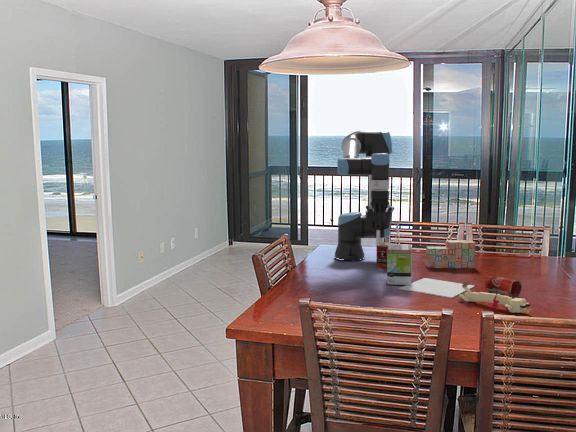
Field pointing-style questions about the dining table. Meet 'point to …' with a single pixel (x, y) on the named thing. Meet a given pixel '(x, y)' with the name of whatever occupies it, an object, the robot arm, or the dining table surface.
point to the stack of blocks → (451, 255)
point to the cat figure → (495, 300)
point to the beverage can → (503, 286)
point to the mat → (436, 287)
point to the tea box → (399, 264)
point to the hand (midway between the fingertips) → (379, 244)
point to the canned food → (382, 255)
